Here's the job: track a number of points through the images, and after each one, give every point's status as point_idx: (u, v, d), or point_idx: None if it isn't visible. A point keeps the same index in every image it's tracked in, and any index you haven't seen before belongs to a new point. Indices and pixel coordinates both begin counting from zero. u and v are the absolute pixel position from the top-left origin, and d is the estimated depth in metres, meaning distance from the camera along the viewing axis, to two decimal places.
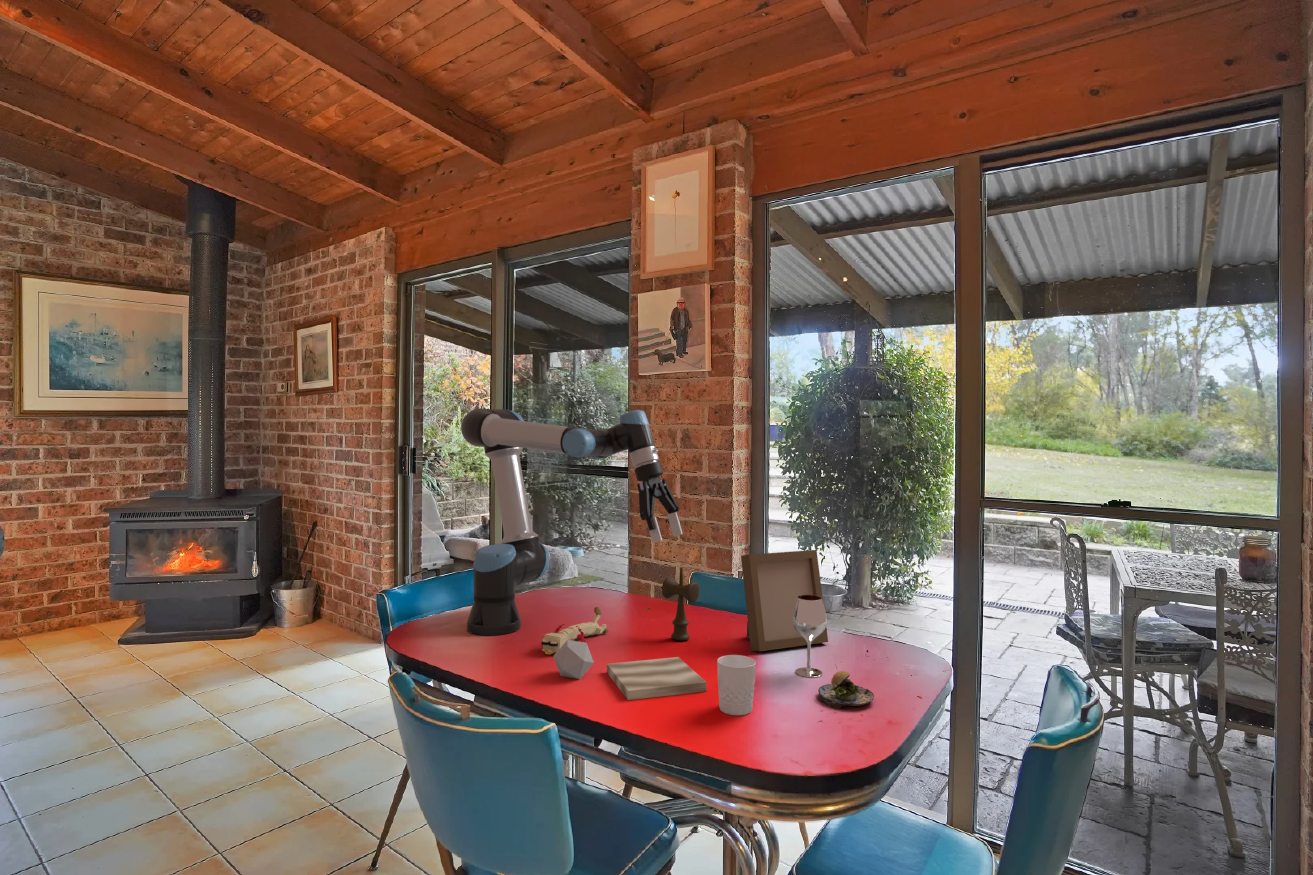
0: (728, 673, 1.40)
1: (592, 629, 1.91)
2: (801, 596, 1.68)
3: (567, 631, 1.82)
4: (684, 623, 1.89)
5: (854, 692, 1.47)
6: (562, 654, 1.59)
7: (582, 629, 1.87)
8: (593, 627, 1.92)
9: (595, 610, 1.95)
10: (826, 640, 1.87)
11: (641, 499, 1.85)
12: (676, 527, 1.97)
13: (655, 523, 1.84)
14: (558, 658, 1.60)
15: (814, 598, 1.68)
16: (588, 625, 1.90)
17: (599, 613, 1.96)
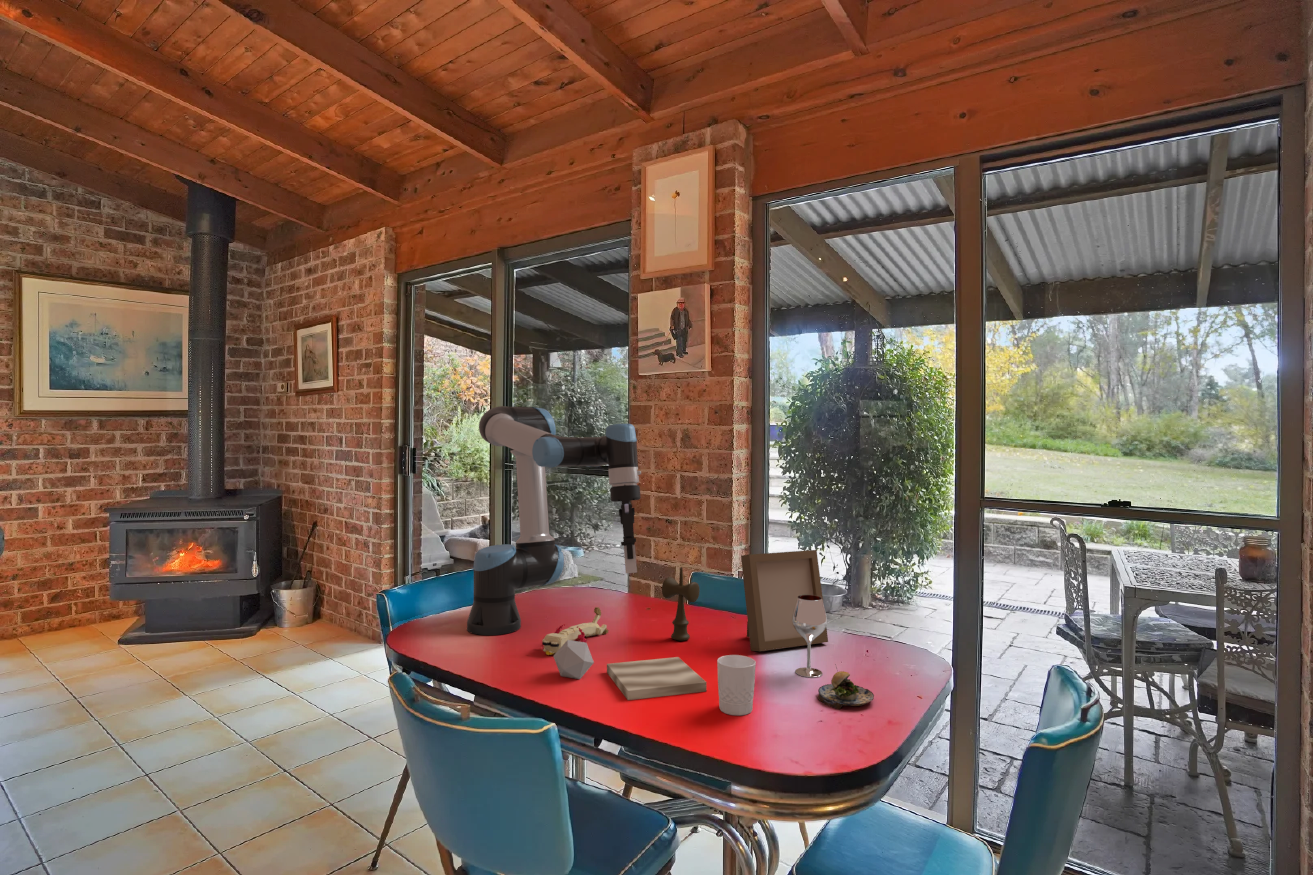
0: (728, 673, 1.40)
1: (592, 629, 1.92)
2: (801, 596, 1.68)
3: (568, 631, 1.82)
4: (684, 623, 1.89)
5: (854, 692, 1.47)
6: (562, 654, 1.59)
7: (582, 629, 1.87)
8: (593, 627, 1.92)
9: (595, 610, 1.95)
10: (826, 640, 1.87)
11: (626, 522, 1.66)
12: None
13: (634, 552, 1.66)
14: (558, 658, 1.60)
15: (814, 598, 1.68)
16: (588, 625, 1.90)
17: (599, 613, 1.96)
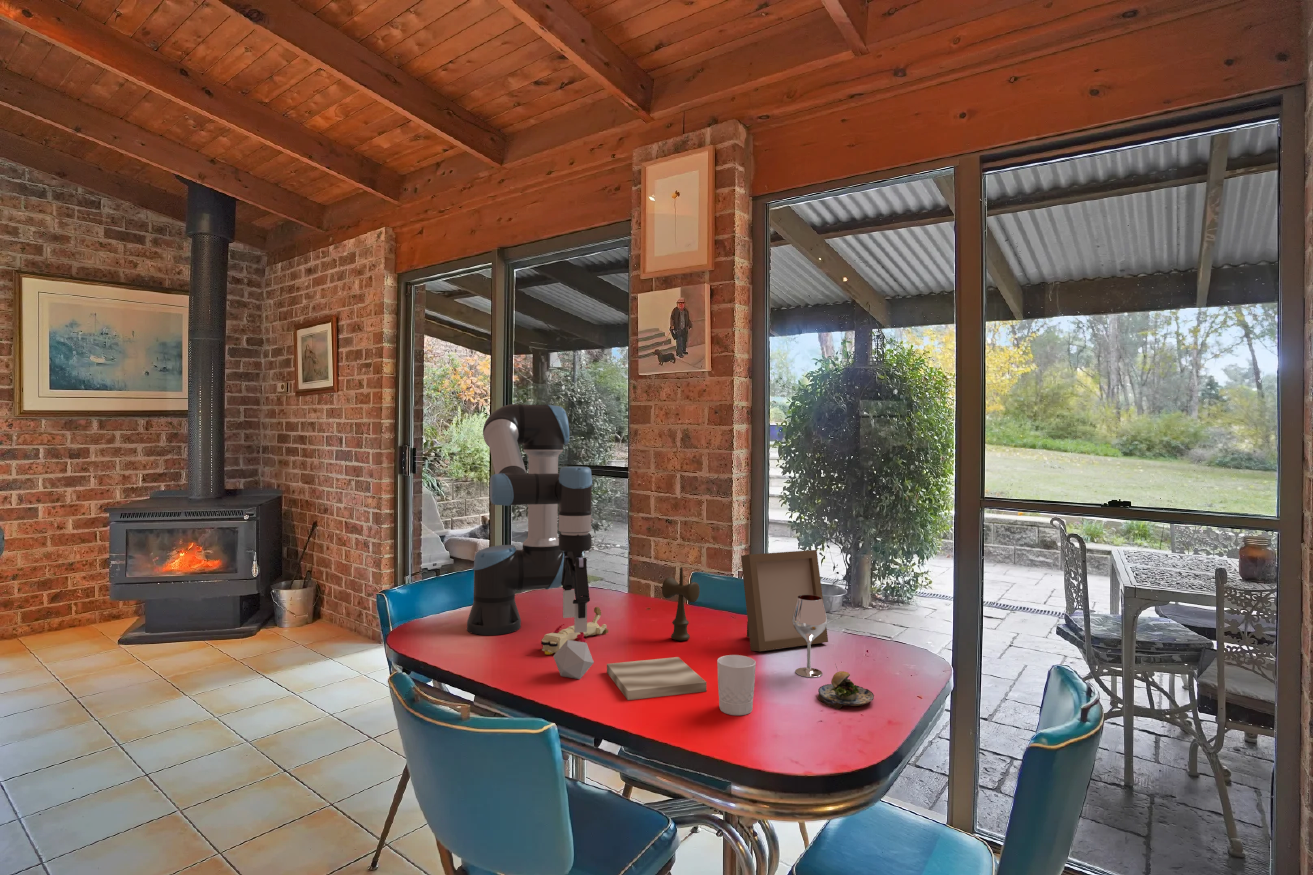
0: (728, 673, 1.40)
1: (592, 629, 1.92)
2: (801, 596, 1.68)
3: (567, 631, 1.82)
4: (684, 623, 1.89)
5: (854, 692, 1.47)
6: (562, 654, 1.59)
7: None
8: (593, 627, 1.92)
9: (595, 610, 1.95)
10: (826, 640, 1.87)
11: (580, 578, 1.54)
12: (570, 608, 1.68)
13: (585, 610, 1.55)
14: (558, 658, 1.60)
15: (814, 598, 1.68)
16: (588, 625, 1.90)
17: (599, 613, 1.96)
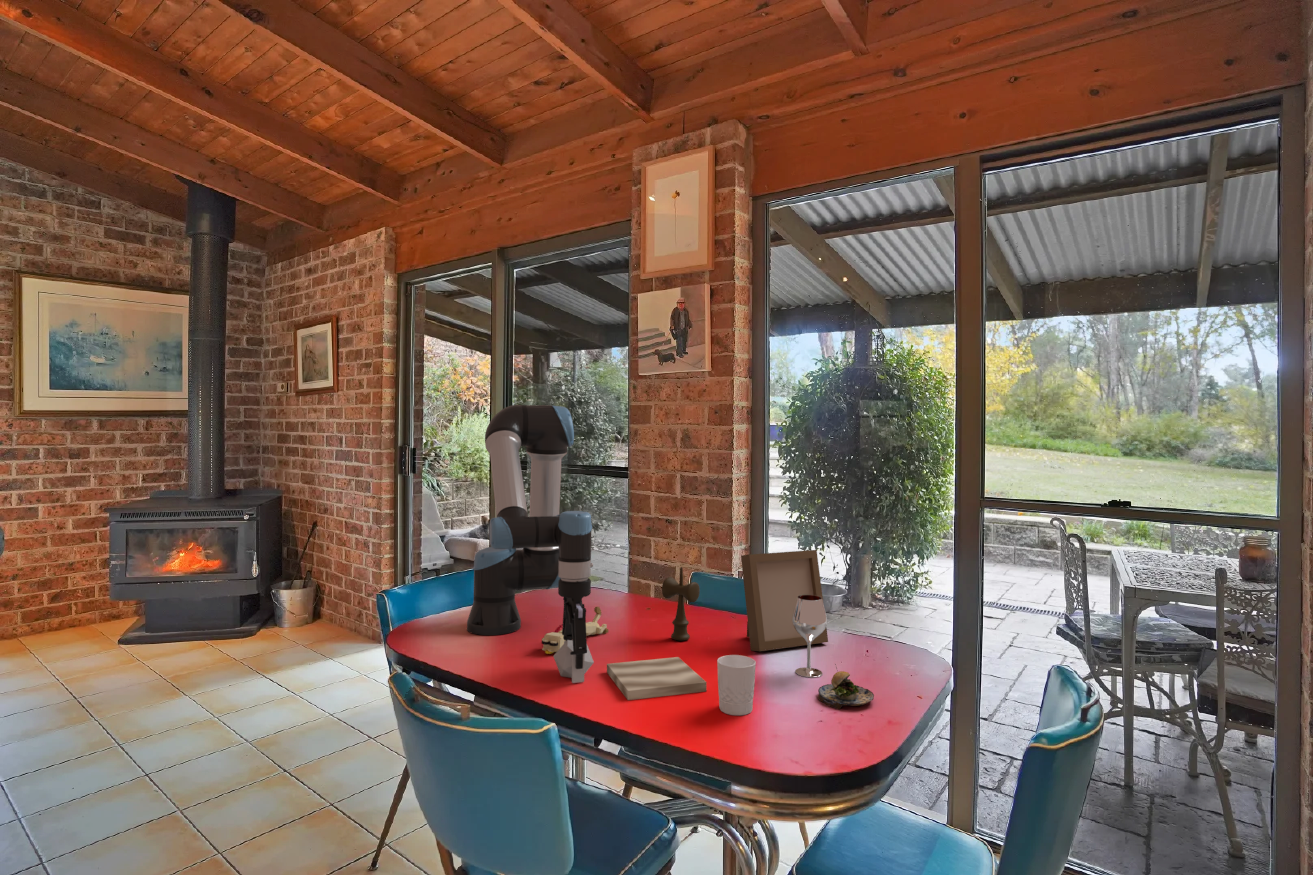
0: (728, 673, 1.40)
1: (592, 628, 1.92)
2: (801, 596, 1.68)
3: None
4: (684, 623, 1.89)
5: (854, 692, 1.47)
6: (562, 654, 1.59)
7: None
8: (593, 627, 1.92)
9: (595, 610, 1.96)
10: (826, 640, 1.87)
11: (579, 630, 1.55)
12: None
13: (583, 660, 1.57)
14: (558, 658, 1.59)
15: (814, 598, 1.68)
16: (588, 625, 1.91)
17: (599, 613, 1.97)
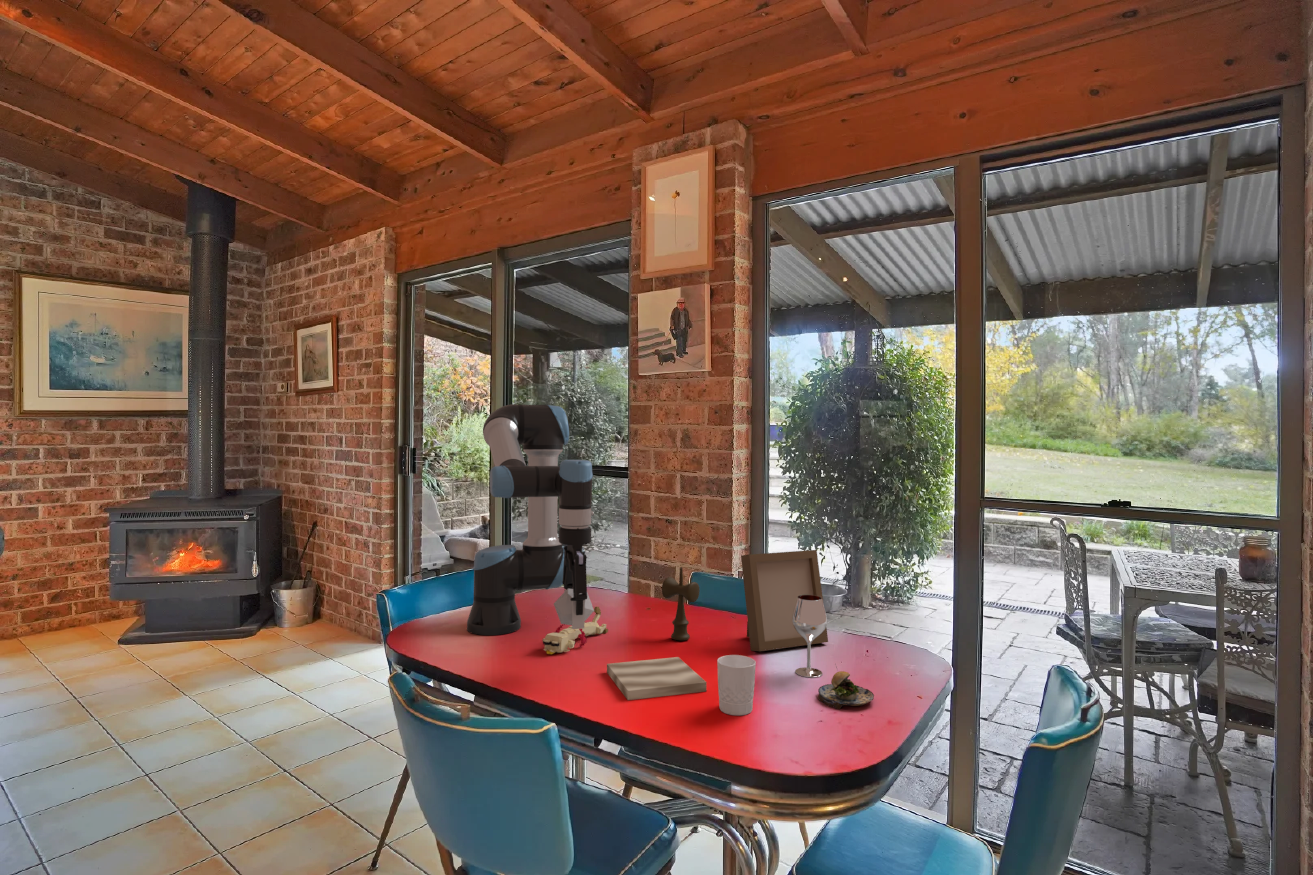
0: (728, 673, 1.40)
1: (592, 628, 1.92)
2: (801, 596, 1.68)
3: (568, 631, 1.82)
4: (684, 623, 1.89)
5: (854, 692, 1.47)
6: (563, 601, 1.59)
7: (583, 629, 1.88)
8: (593, 627, 1.93)
9: (595, 610, 1.96)
10: (826, 640, 1.87)
11: (579, 576, 1.55)
12: None
13: (583, 607, 1.57)
14: (559, 605, 1.60)
15: (814, 598, 1.68)
16: (588, 625, 1.91)
17: (599, 613, 1.97)
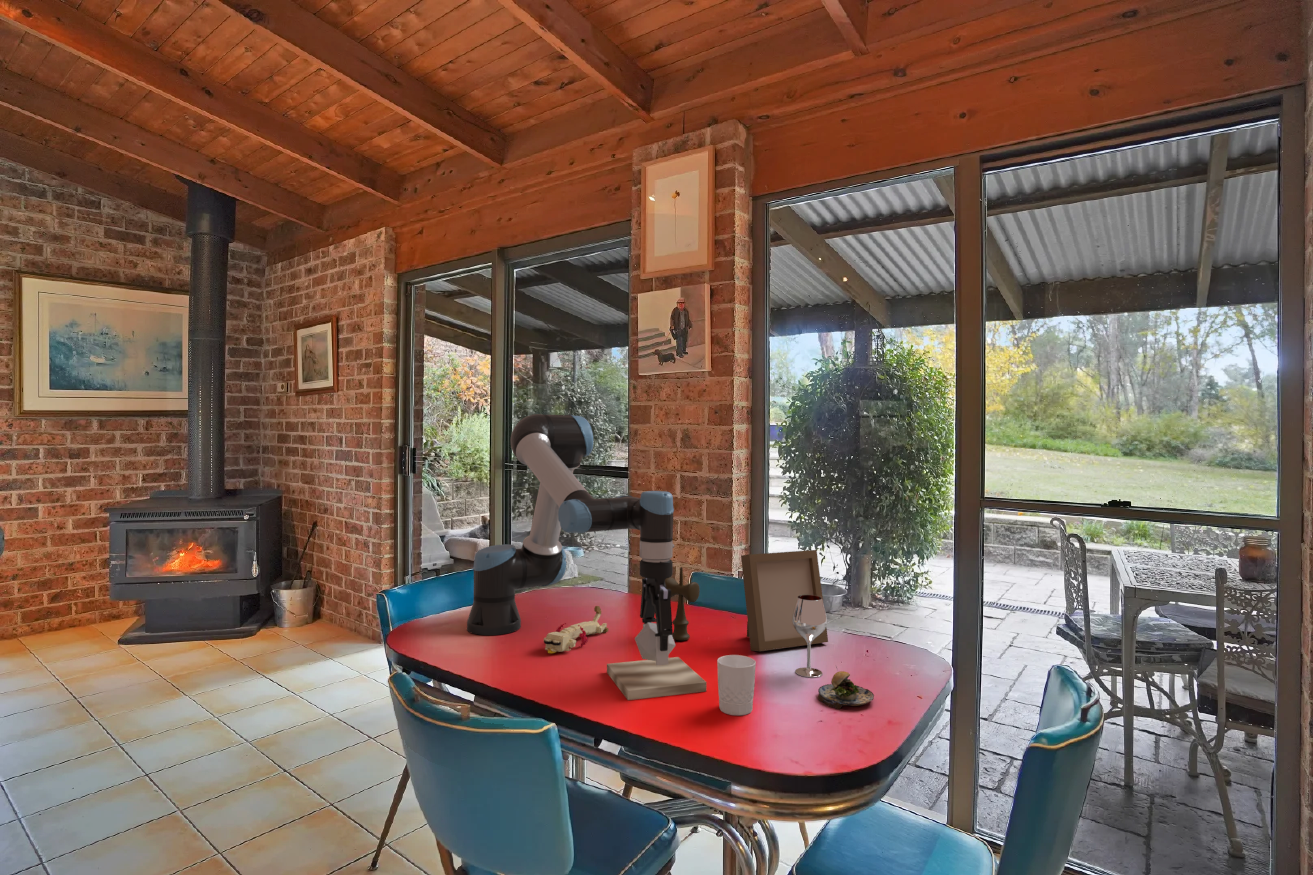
0: (728, 673, 1.40)
1: (593, 628, 1.92)
2: (801, 596, 1.68)
3: (569, 630, 1.83)
4: (684, 623, 1.89)
5: (854, 692, 1.47)
6: (645, 636, 1.56)
7: (583, 628, 1.88)
8: (594, 626, 1.93)
9: (595, 609, 1.96)
10: (826, 640, 1.87)
11: (664, 611, 1.51)
12: None
13: None
14: (641, 640, 1.56)
15: (814, 598, 1.68)
16: (589, 624, 1.91)
17: (599, 612, 1.97)
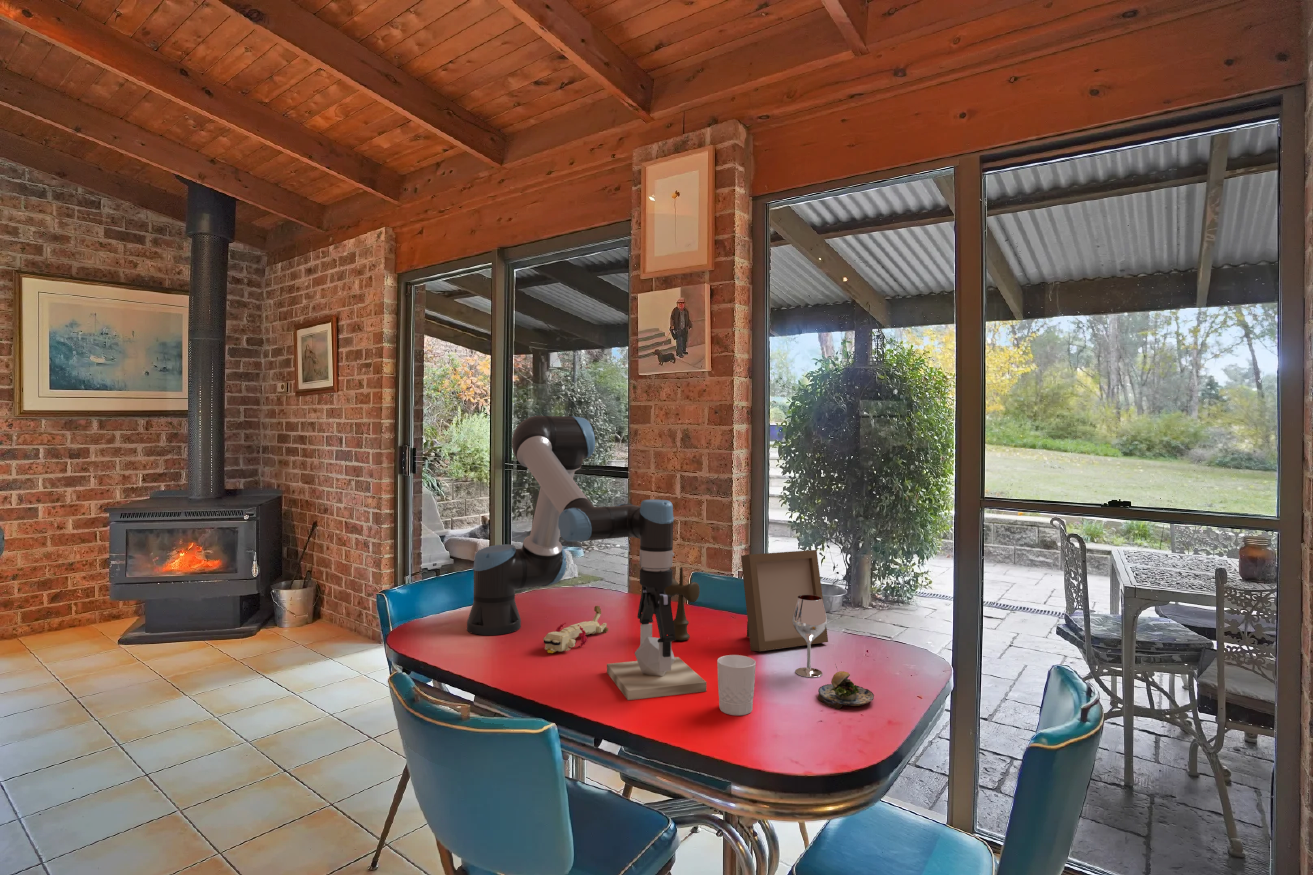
0: (728, 673, 1.40)
1: (593, 627, 1.93)
2: (801, 596, 1.68)
3: (569, 630, 1.83)
4: (684, 623, 1.89)
5: (854, 692, 1.47)
6: (645, 651, 1.56)
7: (583, 628, 1.88)
8: (594, 626, 1.93)
9: (595, 609, 1.96)
10: (826, 640, 1.87)
11: (665, 617, 1.51)
12: None
13: None
14: (641, 655, 1.56)
15: (814, 598, 1.68)
16: (589, 624, 1.91)
17: (599, 612, 1.97)
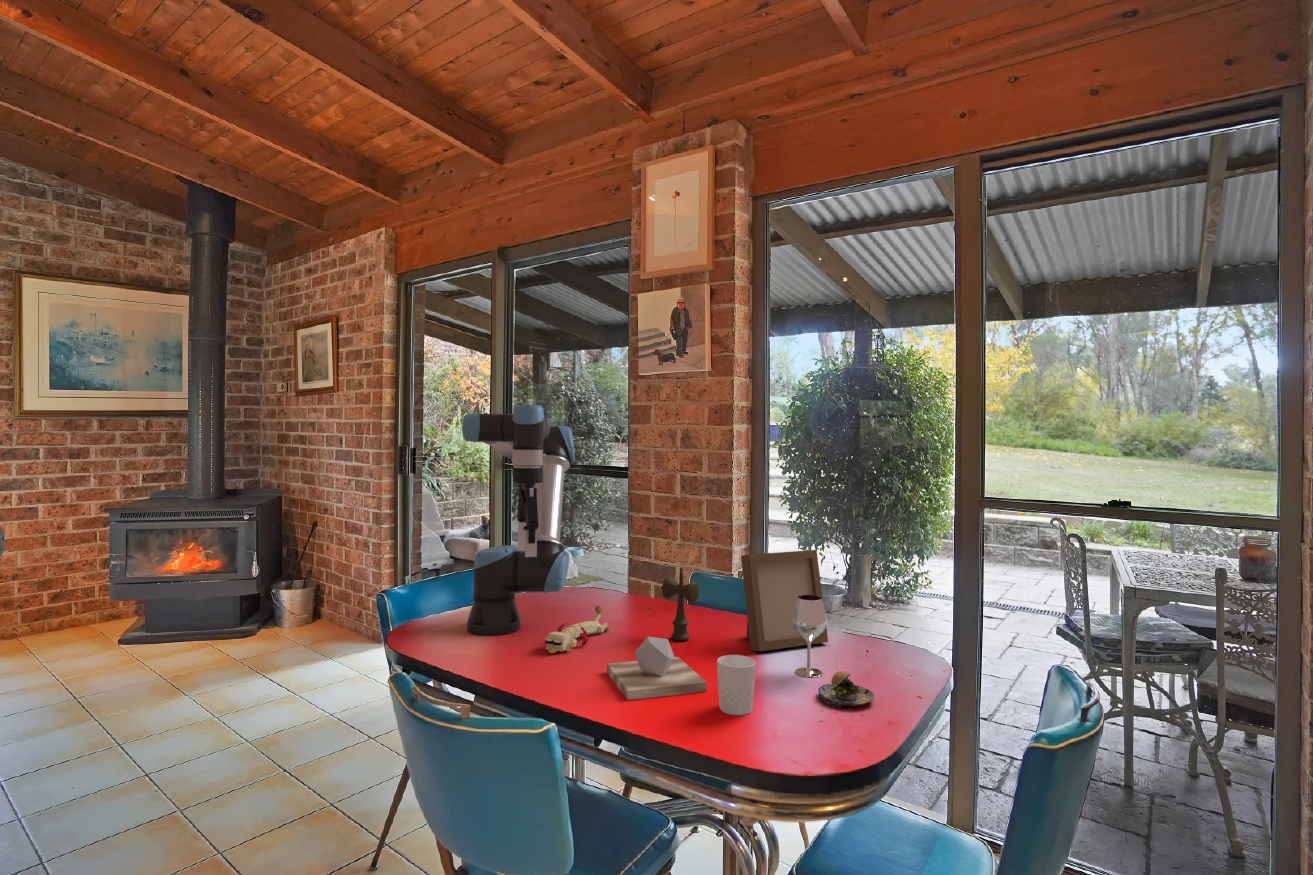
0: (728, 673, 1.40)
1: (594, 627, 1.93)
2: (801, 596, 1.68)
3: (570, 630, 1.83)
4: (684, 623, 1.89)
5: (854, 692, 1.47)
6: (645, 651, 1.56)
7: (584, 628, 1.89)
8: (595, 626, 1.93)
9: (596, 609, 1.97)
10: (826, 640, 1.87)
11: (530, 507, 1.65)
12: (525, 538, 1.79)
13: (535, 536, 1.66)
14: (641, 655, 1.56)
15: (814, 598, 1.68)
16: (590, 624, 1.92)
17: (600, 612, 1.98)
